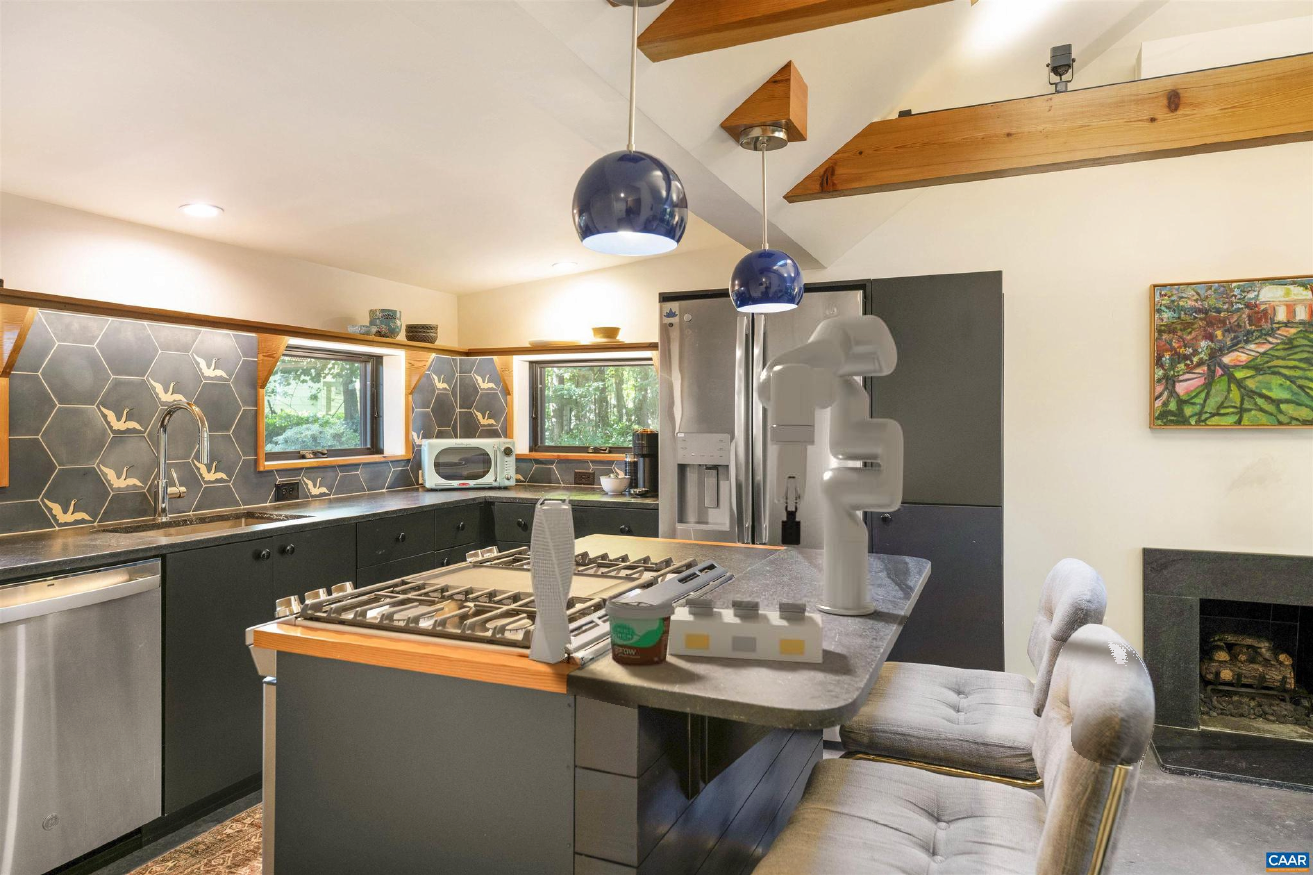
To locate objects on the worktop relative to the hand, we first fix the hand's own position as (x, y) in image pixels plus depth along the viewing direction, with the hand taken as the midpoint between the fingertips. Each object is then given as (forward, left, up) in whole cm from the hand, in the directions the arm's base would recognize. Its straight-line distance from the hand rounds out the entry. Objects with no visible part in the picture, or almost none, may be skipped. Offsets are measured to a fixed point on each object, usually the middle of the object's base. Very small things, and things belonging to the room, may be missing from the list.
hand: (790, 544), depth 129 cm
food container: (+8, -26, -20) cm, 33 cm away
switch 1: (-3, -16, -12) cm, 20 cm away
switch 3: (-3, 0, -12) cm, 12 cm away
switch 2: (-3, -8, -12) cm, 14 cm away
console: (-3, -8, -20) cm, 21 cm away
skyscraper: (+8, -40, -20) cm, 45 cm away
